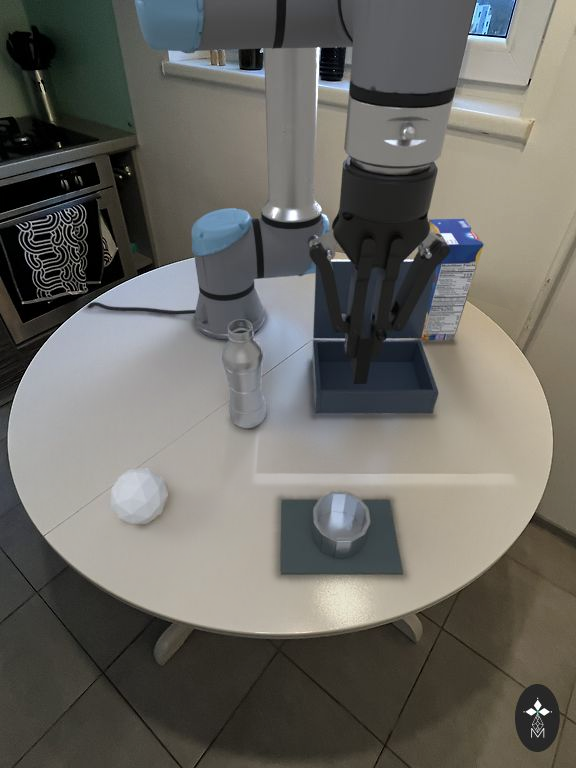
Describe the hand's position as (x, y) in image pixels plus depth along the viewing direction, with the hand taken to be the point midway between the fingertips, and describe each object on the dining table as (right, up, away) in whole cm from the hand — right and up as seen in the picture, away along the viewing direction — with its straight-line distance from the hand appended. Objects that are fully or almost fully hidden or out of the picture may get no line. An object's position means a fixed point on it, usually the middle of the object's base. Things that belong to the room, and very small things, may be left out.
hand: (358, 375), depth 52 cm
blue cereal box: (+23, +11, +47) cm, 53 cm away
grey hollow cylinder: (-1, -22, +11) cm, 24 cm away
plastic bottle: (-15, -7, +27) cm, 32 cm away
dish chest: (+7, -2, +33) cm, 34 cm away
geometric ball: (-29, -20, +14) cm, 38 cm away
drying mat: (-1, -22, +11) cm, 25 cm away
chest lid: (+7, +14, +29) cm, 33 cm away
